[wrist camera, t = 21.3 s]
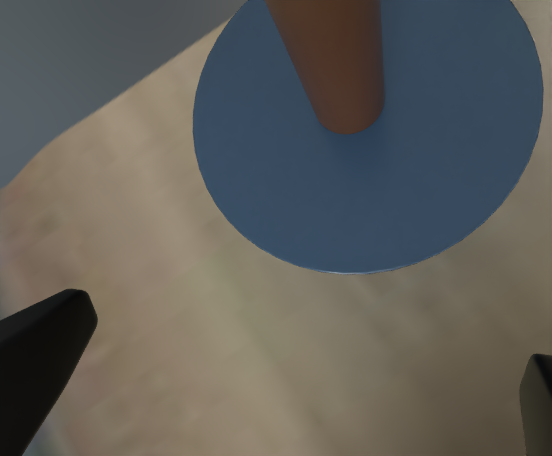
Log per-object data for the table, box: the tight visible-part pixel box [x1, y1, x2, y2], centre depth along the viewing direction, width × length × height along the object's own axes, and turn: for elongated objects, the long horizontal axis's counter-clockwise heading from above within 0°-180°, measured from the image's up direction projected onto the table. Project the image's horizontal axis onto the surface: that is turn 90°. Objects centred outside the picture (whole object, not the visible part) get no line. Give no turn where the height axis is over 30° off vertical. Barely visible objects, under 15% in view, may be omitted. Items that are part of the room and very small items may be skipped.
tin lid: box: [193, 0, 543, 275], centre depth 13 cm, size 14×14×10 cm
